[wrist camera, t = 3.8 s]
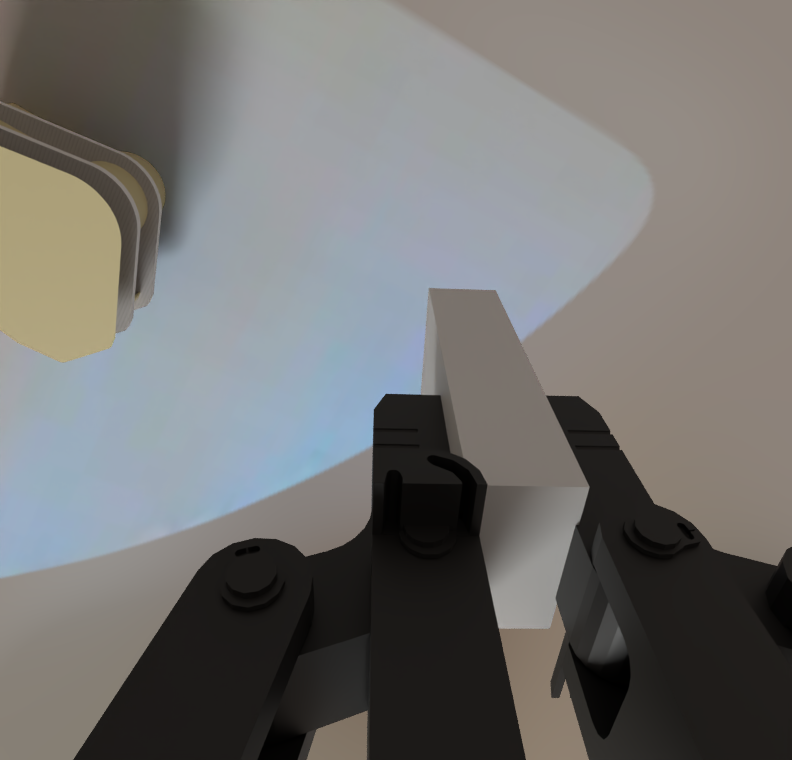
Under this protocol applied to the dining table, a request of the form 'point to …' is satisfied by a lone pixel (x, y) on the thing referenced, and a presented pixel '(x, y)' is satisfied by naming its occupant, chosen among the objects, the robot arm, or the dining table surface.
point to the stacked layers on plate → (72, 236)
